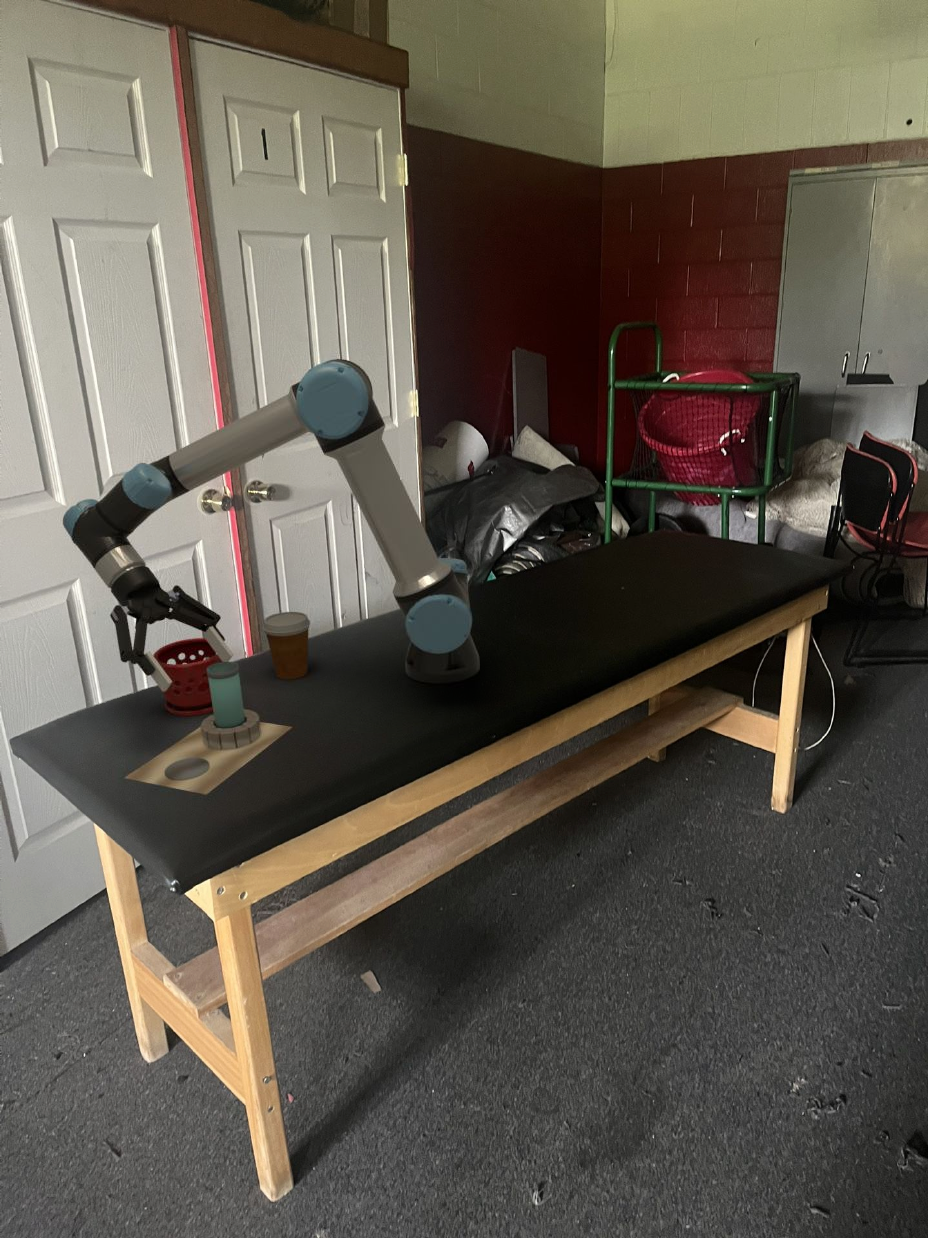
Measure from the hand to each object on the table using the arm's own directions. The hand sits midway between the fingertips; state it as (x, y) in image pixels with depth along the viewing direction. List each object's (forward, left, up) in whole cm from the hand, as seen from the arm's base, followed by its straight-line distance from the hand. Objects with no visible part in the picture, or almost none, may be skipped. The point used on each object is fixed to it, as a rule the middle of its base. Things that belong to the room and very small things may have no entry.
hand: (199, 672), depth 151 cm
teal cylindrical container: (-5, 0, -11) cm, 12 cm away
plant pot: (+10, -9, -12) cm, 18 cm away
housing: (-5, +6, -12) cm, 15 cm away
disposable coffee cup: (+2, -29, -12) cm, 32 cm away
